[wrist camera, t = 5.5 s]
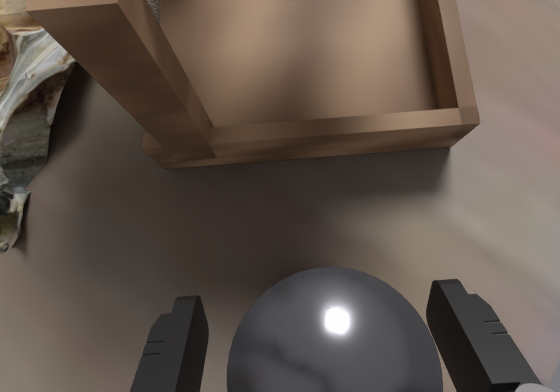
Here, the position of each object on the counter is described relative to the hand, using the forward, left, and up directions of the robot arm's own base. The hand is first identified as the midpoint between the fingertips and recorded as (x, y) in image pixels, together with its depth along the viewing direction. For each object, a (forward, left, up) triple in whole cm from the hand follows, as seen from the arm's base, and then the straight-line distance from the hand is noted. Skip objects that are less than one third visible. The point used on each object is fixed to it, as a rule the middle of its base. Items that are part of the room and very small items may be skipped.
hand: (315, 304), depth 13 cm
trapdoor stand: (0, +14, -5) cm, 15 cm away
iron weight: (0, -1, -5) cm, 5 cm away
